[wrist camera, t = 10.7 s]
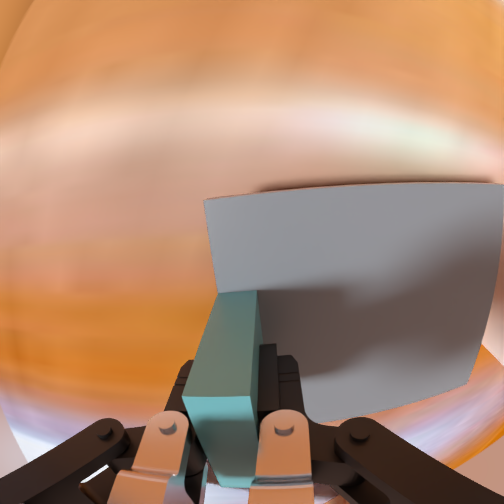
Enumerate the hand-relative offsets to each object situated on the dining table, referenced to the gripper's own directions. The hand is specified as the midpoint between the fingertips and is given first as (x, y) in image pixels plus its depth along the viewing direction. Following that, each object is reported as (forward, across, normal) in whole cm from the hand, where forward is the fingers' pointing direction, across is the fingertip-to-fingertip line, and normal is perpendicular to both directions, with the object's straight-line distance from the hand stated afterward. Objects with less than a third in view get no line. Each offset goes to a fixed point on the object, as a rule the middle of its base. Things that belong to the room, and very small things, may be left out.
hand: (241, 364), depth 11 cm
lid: (+4, -7, 0) cm, 7 cm away
